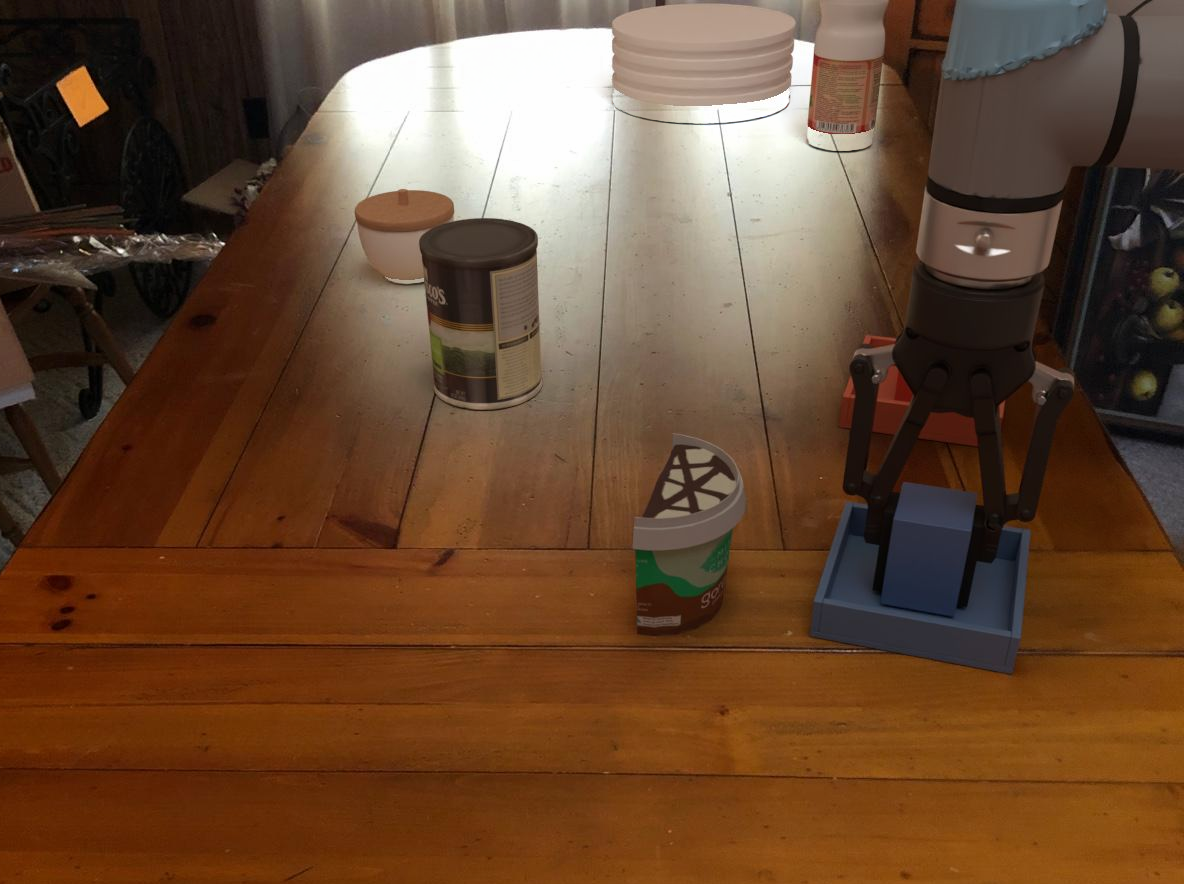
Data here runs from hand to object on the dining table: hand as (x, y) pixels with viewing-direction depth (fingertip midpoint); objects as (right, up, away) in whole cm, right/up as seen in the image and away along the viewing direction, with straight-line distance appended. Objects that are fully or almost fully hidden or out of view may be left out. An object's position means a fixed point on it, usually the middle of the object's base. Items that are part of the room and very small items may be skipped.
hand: (921, 587), depth 85 cm
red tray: (+7, +17, +24) cm, 30 cm away
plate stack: (-5, +78, +108) cm, 134 cm away
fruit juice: (+13, +64, +88) cm, 110 cm away
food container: (-16, -1, +1) cm, 16 cm away
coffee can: (-32, +19, +29) cm, 47 cm away
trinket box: (-43, +35, +51) cm, 76 cm away
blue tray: (0, -1, +1) cm, 1 cm away
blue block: (0, 0, 0) cm, 0 cm away
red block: (+7, +17, +24) cm, 30 cm away
